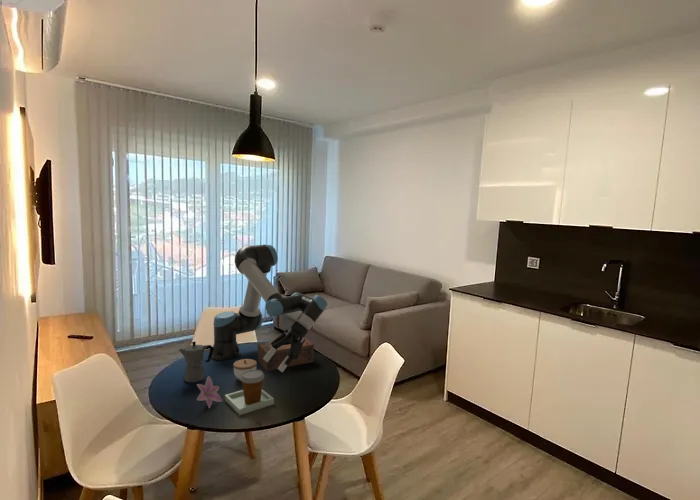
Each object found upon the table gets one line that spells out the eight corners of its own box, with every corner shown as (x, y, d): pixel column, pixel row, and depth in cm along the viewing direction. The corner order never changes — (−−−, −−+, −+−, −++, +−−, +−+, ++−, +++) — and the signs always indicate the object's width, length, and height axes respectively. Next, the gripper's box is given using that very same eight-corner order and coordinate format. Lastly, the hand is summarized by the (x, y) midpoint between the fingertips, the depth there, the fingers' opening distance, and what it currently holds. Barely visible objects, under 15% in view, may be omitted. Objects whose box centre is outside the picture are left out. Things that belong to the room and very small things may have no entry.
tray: (224, 400, 165) (224, 395, 165) (257, 391, 175) (257, 385, 175) (239, 415, 154) (239, 409, 154) (273, 404, 163) (273, 398, 163)
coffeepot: (178, 384, 180) (177, 346, 178) (180, 376, 189) (179, 339, 187) (214, 380, 185) (213, 343, 184) (214, 372, 194) (213, 336, 192)
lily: (191, 415, 156) (202, 396, 154) (185, 393, 164) (194, 375, 162) (219, 414, 164) (229, 396, 162) (211, 393, 172) (221, 376, 170)
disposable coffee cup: (249, 409, 156) (249, 380, 155) (236, 401, 162) (235, 374, 161) (269, 401, 163) (269, 373, 162) (255, 394, 170) (255, 367, 168)
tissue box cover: (302, 353, 222) (302, 336, 221) (313, 362, 210) (313, 344, 209) (257, 361, 209) (257, 343, 208) (266, 371, 197) (266, 352, 196)
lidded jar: (228, 380, 185) (228, 361, 184) (244, 372, 195) (244, 354, 194) (246, 385, 180) (245, 365, 179) (261, 377, 190) (261, 358, 189)
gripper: (322, 337, 170) (292, 379, 162) (293, 323, 189) (264, 361, 181) (312, 327, 166) (280, 370, 158) (283, 314, 185) (254, 352, 177)
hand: (272, 365), depth 170 cm, fingers open, 13 cm apart
